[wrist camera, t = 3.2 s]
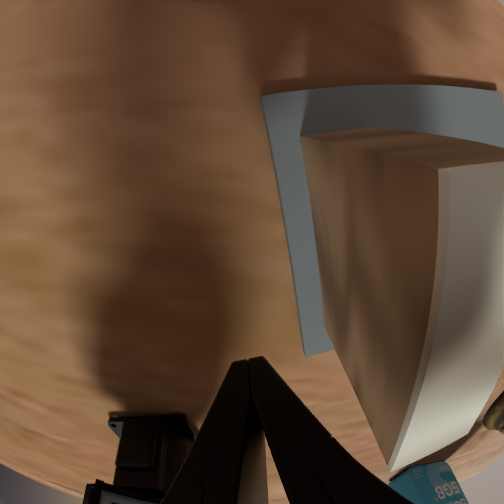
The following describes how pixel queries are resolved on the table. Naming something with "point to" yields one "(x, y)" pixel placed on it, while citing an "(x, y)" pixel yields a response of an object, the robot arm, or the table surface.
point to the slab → (411, 277)
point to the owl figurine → (495, 415)
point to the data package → (429, 485)
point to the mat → (354, 117)
